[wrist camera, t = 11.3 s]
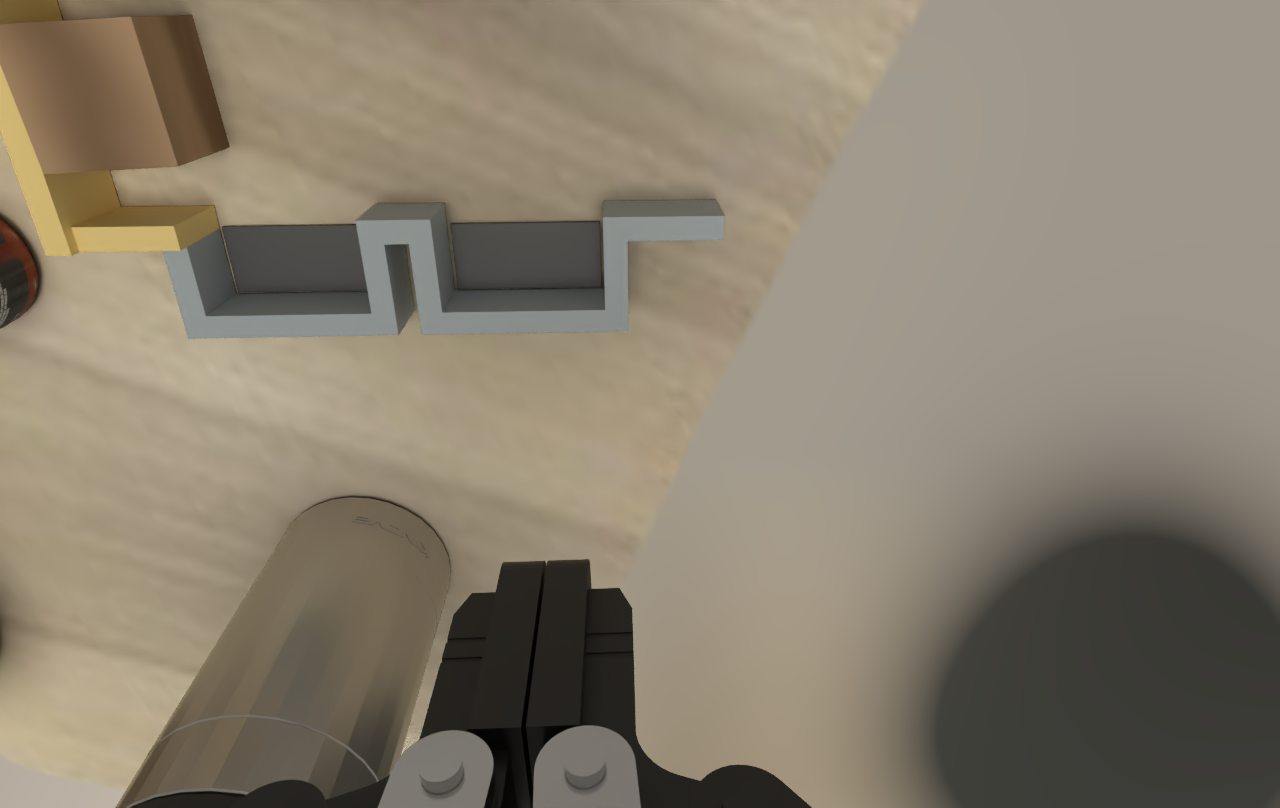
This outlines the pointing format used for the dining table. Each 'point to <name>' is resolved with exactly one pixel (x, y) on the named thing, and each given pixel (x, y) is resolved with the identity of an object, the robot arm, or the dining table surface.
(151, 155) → the walnut block
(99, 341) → the dining table surface
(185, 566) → the dining table surface
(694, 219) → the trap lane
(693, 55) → the dining table surface
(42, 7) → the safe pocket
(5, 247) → the supplement bottle
